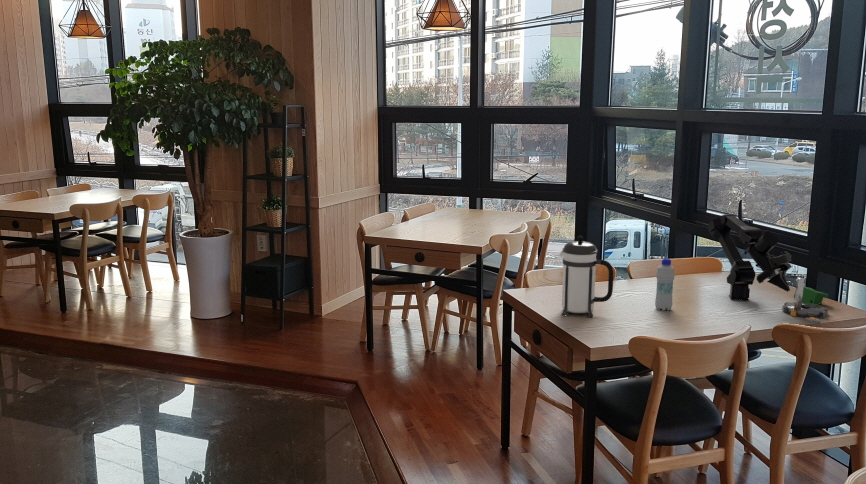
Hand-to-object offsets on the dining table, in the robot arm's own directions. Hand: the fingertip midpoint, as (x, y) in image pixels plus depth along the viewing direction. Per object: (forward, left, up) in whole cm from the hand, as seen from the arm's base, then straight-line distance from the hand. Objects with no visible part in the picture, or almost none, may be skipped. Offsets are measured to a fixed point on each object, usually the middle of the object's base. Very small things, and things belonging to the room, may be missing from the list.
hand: (788, 290), depth 268 cm
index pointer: (+6, -9, -9) cm, 14 cm away
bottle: (-45, -4, -9) cm, 46 cm away
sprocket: (+6, +1, -9) cm, 11 cm away
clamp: (+13, +17, -9) cm, 23 cm away
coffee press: (-76, -15, -9) cm, 78 cm away
